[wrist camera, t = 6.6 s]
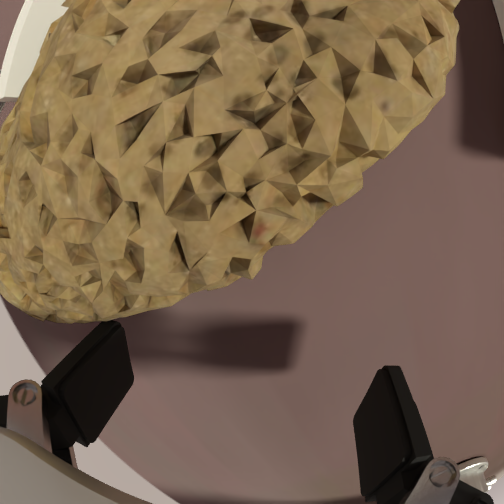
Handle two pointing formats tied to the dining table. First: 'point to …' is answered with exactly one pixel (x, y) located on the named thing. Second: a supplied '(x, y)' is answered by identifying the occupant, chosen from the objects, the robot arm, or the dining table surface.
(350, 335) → the dining table surface
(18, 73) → the box
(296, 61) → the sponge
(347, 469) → the dining table surface
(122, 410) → the dining table surface
